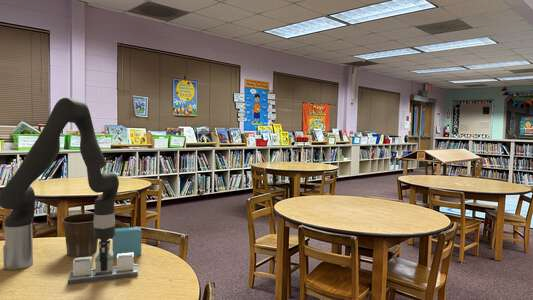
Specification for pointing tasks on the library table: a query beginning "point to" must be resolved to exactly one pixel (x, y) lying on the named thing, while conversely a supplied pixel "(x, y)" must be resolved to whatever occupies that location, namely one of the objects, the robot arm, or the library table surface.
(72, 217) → the plant pot
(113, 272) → the rail
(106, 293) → the library table surface
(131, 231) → the data package
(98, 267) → the block
